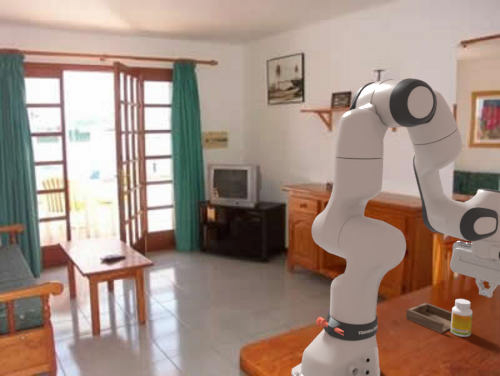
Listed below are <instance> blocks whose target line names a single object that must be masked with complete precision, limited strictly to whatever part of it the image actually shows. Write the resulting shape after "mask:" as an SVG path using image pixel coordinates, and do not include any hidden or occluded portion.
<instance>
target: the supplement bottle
mask: <svg viewBox="0 0 500 376" xmlns="http://www.w3.org/2000/svg"><path fill="white" fill-rule="evenodd" d="M454 302H455V303H454V306H453V307H452V308H451V312H452V317H451V329H450V332H451V333H452V334H453V335H455V336H457V337H462V338H463V337H465V338H466V337H470V336H471V335H472V323H473V310H472V309H471V301H470V300H467V299H465V298H456V299H455V301H454Z"/></svg>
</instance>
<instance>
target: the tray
mask: <svg viewBox="0 0 500 376" xmlns="http://www.w3.org/2000/svg"><path fill="white" fill-rule="evenodd" d="M405 316H406V317H405V318H407V319H406V320H409V321H411V322H414V323H416V324H418V325H421V326H423V327H426V328H428V329H430V330H433V331H435V332H437V333H439V334H443V333H445V332H447V331H451V317H452V311H450V310H447V309H445V308H442V307H439V306H437V305H434V304H431V303H428V302H424V303H421V304H418V305H416V306H414V307H410V308H408V309H406V315H405Z"/></svg>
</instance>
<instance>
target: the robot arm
mask: <svg viewBox="0 0 500 376" xmlns="http://www.w3.org/2000/svg"><path fill="white" fill-rule="evenodd" d="M389 128H393V129H394V128H406V130H407V132H408V135H409V136H408V137H409V139H410V141H411V145H412V147H413V148H412V149H413V150H414V151H413V152H414V155H413V159H412V166H413V171H414V175H415V179H416V184H417V188H418V193H419V196H420V201H421V213H422V215H421V217H422V220H423V224H424V226H425V227H426V228H427V230H429V231H431V232H433V233H436V234H437V233H438V234H442V235H445V236H446V235H447V236H450V237H452V238H457V239H460V240H457V241H455V242H453V245H452V255H451V258H450V263H449V264H450V265H449V268H450V270H451V271H452V272H453V273H456V274H460V275H463V276H465V277H466V276H467V277H470V278H474V279H475V284H476V286H477V288H478V295H480V296H483V297H486V298H492V297H493V295H494V294H493V293H494V291H495V290H496V288H497V287H498V286H500V190H495V189H490V188H479V189H477V191H476V194H475V195H474V196H473V197H471V198H470V199H469V200H466V201H464V202H463V201H458V200H454V199H451V198H450V197H449V196H447V195H446V194H445V193H444V189H443V185H442V179H441V177H440V176H441V175H440V170H441V169H444V168H446V167H447V166H449V165H450V164H452V163H454V162H455V160H456V159H457V158H458V157H459V156H460V154H461V152H462V149H463V139H462V135H461V132H460V130H459V127H458V124H457V122H456V118H455V116H454V115H453V112H452V110H451V108H450V106H449V105H448V103H447V101H446V98H444V96H443V95H442V94H441V93H440V92H439V91H437V90H434V89H433V88H432V87H431V85H429V84H428V83H427V82H426V81H424V80H421V79H417V78H404V79H401V78H399V79H398V78H397V79H393V78H388V79H383V80H378V81H372V82H368V83H366V84H364V85H362V86H361V87H359V88H358V89H357V91H356V92H355V94H354V96H353V98H352V100H351V106H350V107H349V110H348V111H345V113H343V114H342V116H341V117H340V119H339V123H338V127H337V132H336V138H335V145H334V162H333V163H334V166H333V180H332V181H333V183H332V190H331V195H330V197H329V200H328V203H327V204H326V207H325V208H324V209H323V211H322V212H320V213H319V214H318V215H317V216H316V217H315V218H314V220H313V223H312V225H311V237H312V240H313V241H314V243H315V244H316V245H317V246H319V247H320V248H321V249H323V250H324V251H326V252H327V253H329V254H333V255H335V256H338V257H340V258H343V259H344V260H345V261H346V267H345V269H344V273H342V274H341V273H340V274H339V275H337V277H335V278H334V279H333V280H332V281H331V284H330V291H329V292H330V295H329V296H330V299H329V310H328V313H327V315H326V319H324V318H323V317H321V316H319V317H317V319H316V321H315V323H316V325H318V326H319V327H321V328H323V329H322V330H321V331H320V333H318V335H316V337H315V338H314V339H313V340H312V341H311V343H309V345H308V346H306V348H305V349H304V351H303V353H302V359H301V362H300V363H299V364H297V365H296V366H294V367H292V368H291V373H290V374H291V376H381V368H380V358H379V357H380V356H379V348H378V343H377V336H376V334H377V333H378V326H379V323H378V316H377V304H378V295H379V294H378V293H379V287H380V284H381V282H382V280H383V278H384V276H385V275H386V274H387V273H388V272H389V271H391V270H392V269H395V268H396V267H398V265H399V264H401V262H402V261H403V259H404V257H405V254H406V251H407V242H406V237H405V235H404V233H403V232H402V230H400V229H399V228H397V227H395V226H394V225H392V224H390V223H388V222H386V221H384V220H380V219H376V218H371V217H368V216H365V210H366V206H367V205H368V202H369V201H370V200H372V199H373V198H375V197H377V196H378V195H379V194H380V193H381V191H382V188H383V176H384V175H383V174H384V173H383V172H384V152H385V150H384V139H385V136H386V134H387V131H388V129H389ZM466 241H468V242H466ZM485 282H487V283H488V286H489V288H486V287H485V285H484V283H485Z"/></svg>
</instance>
